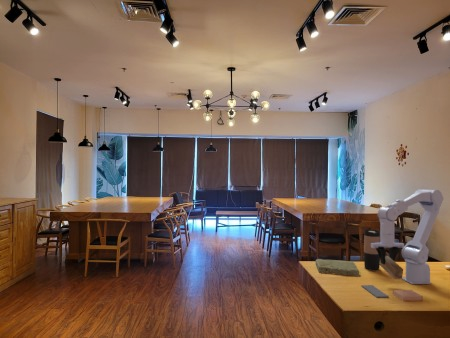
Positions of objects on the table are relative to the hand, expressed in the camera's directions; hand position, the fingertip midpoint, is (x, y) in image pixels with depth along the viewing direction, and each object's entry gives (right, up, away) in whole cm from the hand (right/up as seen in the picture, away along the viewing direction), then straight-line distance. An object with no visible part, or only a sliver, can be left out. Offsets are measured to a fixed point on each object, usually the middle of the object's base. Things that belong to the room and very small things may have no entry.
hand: (387, 263), depth 147 cm
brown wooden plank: (0, -3, -2) cm, 4 cm away
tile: (+1, -9, -11) cm, 14 cm away
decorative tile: (-15, -10, +23) cm, 29 cm away
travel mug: (+4, -10, +24) cm, 26 cm away
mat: (-10, -9, -9) cm, 16 cm away
